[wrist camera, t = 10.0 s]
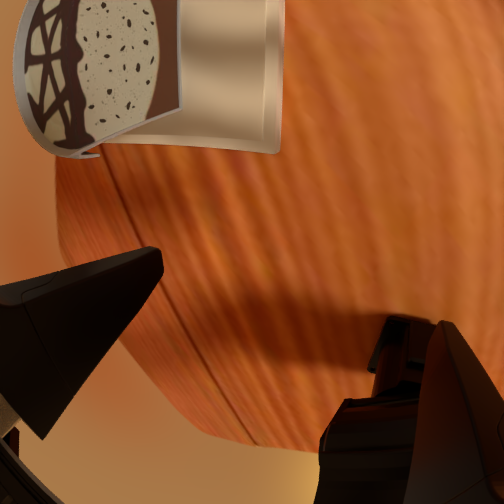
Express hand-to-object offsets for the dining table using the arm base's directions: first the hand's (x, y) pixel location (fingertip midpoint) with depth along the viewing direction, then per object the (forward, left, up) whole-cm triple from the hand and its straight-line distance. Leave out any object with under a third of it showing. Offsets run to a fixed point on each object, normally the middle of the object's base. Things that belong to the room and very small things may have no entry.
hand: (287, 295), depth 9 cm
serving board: (+9, +13, -14) cm, 21 cm away
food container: (+8, +15, -12) cm, 21 cm away
